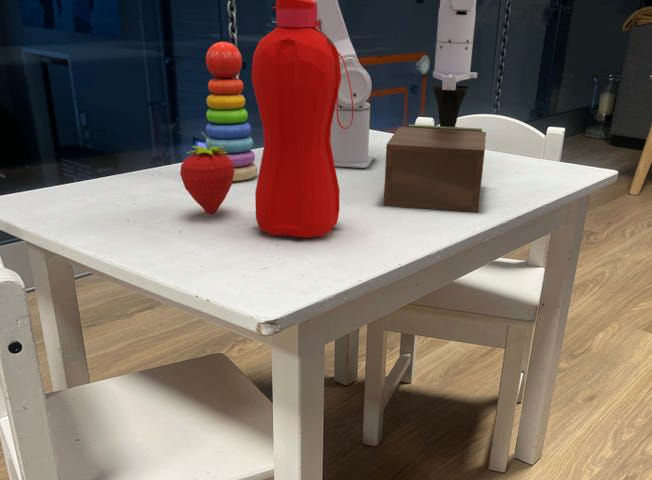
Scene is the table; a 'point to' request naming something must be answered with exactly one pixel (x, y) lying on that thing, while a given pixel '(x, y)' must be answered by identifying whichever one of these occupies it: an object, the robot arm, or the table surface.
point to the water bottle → (297, 124)
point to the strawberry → (208, 176)
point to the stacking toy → (229, 110)
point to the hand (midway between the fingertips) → (447, 131)
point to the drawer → (445, 128)
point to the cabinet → (434, 169)
